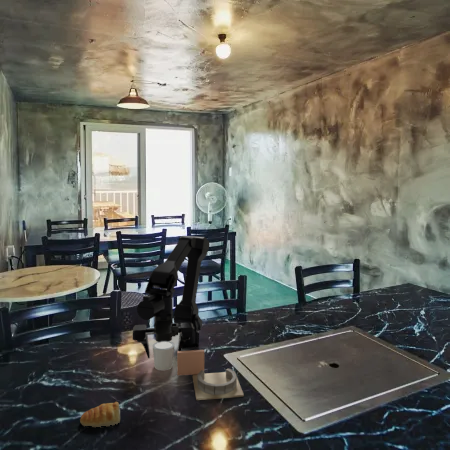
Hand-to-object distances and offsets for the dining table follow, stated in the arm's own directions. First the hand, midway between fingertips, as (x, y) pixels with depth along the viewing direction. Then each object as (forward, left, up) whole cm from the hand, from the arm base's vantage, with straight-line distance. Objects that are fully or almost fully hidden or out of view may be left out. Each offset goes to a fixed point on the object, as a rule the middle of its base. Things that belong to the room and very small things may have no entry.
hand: (163, 356), depth 120 cm
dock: (+15, -14, -3) cm, 21 cm away
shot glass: (0, 0, -3) cm, 3 cm away
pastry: (-15, -26, -3) cm, 30 cm away
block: (+8, -8, -3) cm, 11 cm away
